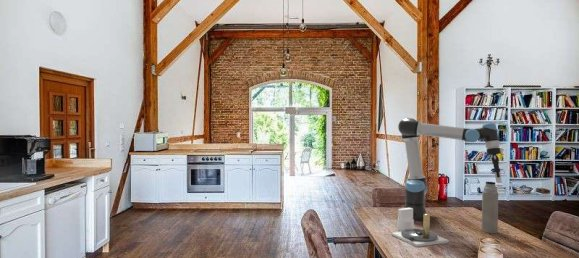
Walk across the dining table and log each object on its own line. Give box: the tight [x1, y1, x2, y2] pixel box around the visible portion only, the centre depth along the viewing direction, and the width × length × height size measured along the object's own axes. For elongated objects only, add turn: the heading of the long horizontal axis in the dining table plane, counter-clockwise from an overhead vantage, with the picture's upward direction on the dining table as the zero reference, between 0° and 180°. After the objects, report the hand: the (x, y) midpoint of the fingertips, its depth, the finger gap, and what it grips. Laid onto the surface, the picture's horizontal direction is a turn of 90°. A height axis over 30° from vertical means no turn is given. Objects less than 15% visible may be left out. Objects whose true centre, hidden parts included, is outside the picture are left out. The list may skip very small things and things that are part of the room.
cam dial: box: [400, 213, 439, 241], centre depth 194 cm, size 18×18×13 cm
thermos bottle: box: [481, 181, 499, 234], centre depth 209 cm, size 8×8×28 cm
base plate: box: [391, 231, 449, 247], centre depth 194 cm, size 20×20×3 cm
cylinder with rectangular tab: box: [396, 207, 415, 232], centre depth 210 cm, size 9×9×12 cm
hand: (499, 182), depth 225 cm, fingers open, 13 cm apart
